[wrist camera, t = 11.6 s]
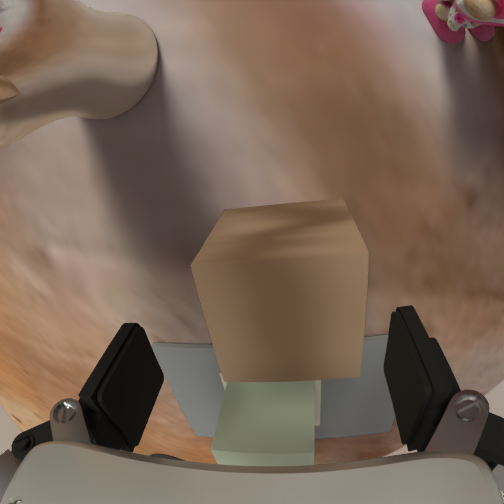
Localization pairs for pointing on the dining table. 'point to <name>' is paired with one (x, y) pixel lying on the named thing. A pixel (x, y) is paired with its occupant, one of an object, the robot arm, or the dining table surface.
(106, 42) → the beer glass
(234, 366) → the walnut block
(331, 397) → the felt mat
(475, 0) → the doll family
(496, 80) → the dining table surface
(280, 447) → the sage block
